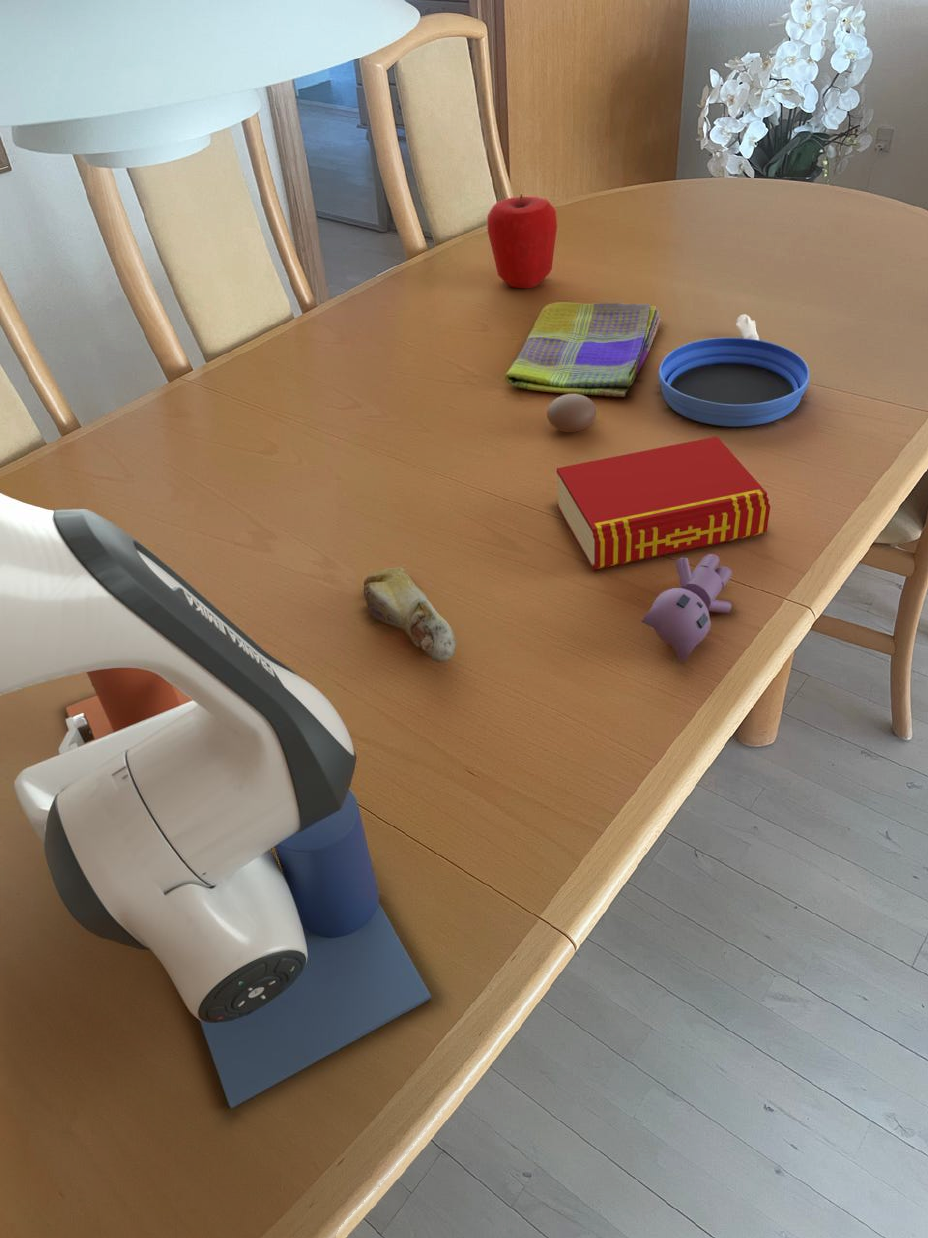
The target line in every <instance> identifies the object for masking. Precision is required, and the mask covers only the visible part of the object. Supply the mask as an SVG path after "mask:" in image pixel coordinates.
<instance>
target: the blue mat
mask: <svg viewBox="0 0 928 1238" xmlns="http://www.w3.org/2000/svg"><path fill="white" fill-rule="evenodd" d="M301 925H302V923H301ZM302 928H303V932H304V936H305V940H306V945H307V953H308V957H307V962H306V965H305V967H304V969H303V971H302V973H301V974H300V975H299V976H298V978H297V979H296V980H295V981H294V983H293V984H292V985H291V986H290V987H289V988H288V989H286V990H285V991H284V992H283V993H281V994H280V995H278V996H277V997H276V998H274V999H273V1000H272V1001H270V1002H269V1003H267V1004H265V1005H264V1006H262V1007H261V1008H259V1009H258V1010H256V1011H254V1012H253V1013H251V1014H249V1015H247V1016H243V1017H240V1018H238V1019H234V1020H232V1021H228V1022H219V1023H206V1022H203V1021H200V1020H199V1023H200V1026H201V1029H202V1032H203V1034H204V1038H205V1040H206V1043H207V1046H208V1049H209V1052H210V1055H211V1058H212V1060H213V1063H214V1067H215V1069H216V1072H217V1075H218V1077H219V1080H220V1084H221V1086H222V1090H223V1093H224V1096H225V1098H226V1101H227V1103H228V1107H229V1108H230V1109H234V1108H235V1107H237V1106H239V1105H241V1104H242V1103H244V1102H246V1101H248V1100H250V1099H253V1097H255V1096H257V1095H259V1094H261V1093H262V1092H264V1091H266V1090H268V1089H270V1088H271V1087H273V1086H275V1085H277V1084H279V1083H281V1082H282V1081H284V1080H286V1079H288V1078H290V1077H291V1076H293V1075H295V1074H297V1073H299V1072H301V1071H302V1070H304V1069H306V1068H308V1067H309V1066H311V1065H313V1064H315V1063H317V1062H319V1061H320V1060H323V1059H324V1058H326V1057H328V1056H330V1055H332V1054H333V1053H335V1052H337V1051H340V1049H343V1048H345V1047H346V1046H348V1045H350V1044H352V1043H353V1042H355V1041H357V1040H359V1039H361V1038H363V1037H364V1036H366V1035H368V1034H370V1033H371V1032H373V1031H375V1030H377V1029H378V1028H380V1027H382V1026H384V1025H386V1024H388V1023H390V1022H392V1021H393V1020H395V1019H397V1018H399V1017H400V1016H402V1015H405V1014H406V1013H408V1012H410V1011H412V1010H413V1009H415V1008H417V1007H418V1006H421V1005H422V1004H424V1003H426V1002H428V1001H429V1000H431V999H432V996H431V994H430V992H429V990H428V988H427V986H426V984H425V983H424V981H423V979H422V978H421V976H420V974H419V972H418V970H417V968H416V966H415V964H414V963H413V961H412V958H411V957H410V956H409V954H408V952H407V950H406V948H405V947H404V945H403V943H402V942H401V940H400V937H399V936H398V934H397V933H396V930H395V929H394V927H393V925H392V923H391V921H390V920H389V918H388V917H387V914H386V913H385V911H384V910H383V908H382V906H381V904H380V901H378V905H377V908H376V911H375V913H374V914H373V916H372V917H371V919H370V920H369V921H368V922H367V923H366V924H365V925H364V926H363V927H362V928H360V929H359V930H357V931H355V932H353V933H351V934H349V935H346V936H342V937H335V938H327V937H321V936H318V935H316V934H313V933H312V932H310V931H308V930H307V929H306V928H305V927H304V926H303V925H302Z"/></svg>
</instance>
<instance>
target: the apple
mask: <svg viewBox="0 0 928 1238" xmlns="http://www.w3.org/2000/svg"><path fill="white" fill-rule="evenodd" d="M486 220H487V225H486V226H487V227H486V230H487V234H488V239H489V243H490V246H491V251H492V254H493V259H494V260H493V261H494V263H495V268H496V272H497V276H498V277H499V278H500V279H501V280H502V281H503V282H504V283H505V284H506V285H508V286H509V287H511V288H515V289H531V288H535V287H537V286H538V285H540V284H541V283H542V282H543V281H544V280H545V279H546V278H547V277H548V275H550V273H551V271H552V269H553V261H554V254H555V253H554V252H555V245H556V237H557V231H558V221H557V211H556V209H555V207H554V206H553V204H551V203H550V201H549V200H547V199H546V198H543V197H539V196H538V197H537V196H523V194H522V193H521V194H520V196H518V197H509V198H503V199H501V200H499V201H496V202H495V203H494V205H492V207H491V209H490V211H489V212H488V214H487V219H486Z"/></svg>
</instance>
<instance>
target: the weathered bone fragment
mask: <svg viewBox="0 0 928 1238" xmlns="http://www.w3.org/2000/svg"><path fill="white" fill-rule="evenodd" d="M363 586H364V587H363V596H364V600H365V602H366V605H367V608H368V612H369V614H370V615H371V616H372V618H374V619H375V620H377V621H380V622H381V623H384V624H385V625H388V626H389V625H390V626H393V627H396V628H397V629H401V630H404V631H405V633H406V635H407V636H409V638H410V640H411V642H412V643H413V644H414V645H415V646H416V647H417V648H418V649H422V650H423V651H424V652H425V653H426V655H427V657H428V658H430V659H431V660H432V661H434V662H436V663H444V662H448V661H449V660H450V659H451V658H452V657H453V655H454V654H455V652H456V649H457V641H456V638H455V635H454V631H453V630H452V627H451V626H450V624H449V623H448V621H447V620H446V619H445V618H444V617H443V616H441V614H439V613H438V611H437V610H436V609H435V607H434V606H433V604H432V603H431V602H430V601H429V598H428V597H427V595H426V594H425V593H424V592H423V591H422V590H421V589H420V588H419V587H418V586H417V585H416V584H415V582H413V580H412V579H411V577H410V576H409V574H408V573H407V571H406V570H405V569H404V568H403V567H400V566H399V567H397V566H396V567H390V568H386V569H385V568H384V569H383V570H379V571H377V572H373V573H371V574H370V575H368V576H367V577H365V578H364V581H363Z"/></svg>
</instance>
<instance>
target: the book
mask: <svg viewBox="0 0 928 1238" xmlns="http://www.w3.org/2000/svg"><path fill="white" fill-rule="evenodd" d="M556 473H557V492H558V493H557V495H558V497H557V498H558V503H556V505H557V506H556V507H557V509H558V511H559V513H560V514H561V517H562V518H563V520H564V522H565V524H566V525H567V527H568V529H569V530H570V532H571V534H572V536H573V537H574V539H575V541H576V543H577V545H578V546H579V548H580V550H581V552H582V554H583V555H584V557H585V559H586V561H587V562H588V565H589V566H590V568H591V570H592V571H594V570H599V569H605V568H610V567H612V566H613V567H614V566H618V565H623V564H629V563H632V562H638V561H642V560H647V559H650V558H655V557H660V556H665V555H669V554H674V553H679V552H683V551H689V550H693V549H699V548H702V547H703V548H704V547H708V546H712V545H717V544H721V543H726V542H732V541H735V540H736V541H737V540H740V539H744V538H749V537H755V536H759V535H762V534H764V533H767V532H768V525H769V518H770V512H771V505H770V504H769V501H770V499H769V498H768V492H767V491H766V490H765V489H764V488H763V486H762V485H760V482H758V481H757V480H756V479H755V478H754V476H753V475H752V474H751V473H750V472H749V471H748V469H747V468H746V467H745V466H744V465H743V463H741V461H740V460H739V459H738V458H737V457H736V456H735V455H734V454H733V452H732V451H731V450H730V449H729V448H728V447H727V445H726V444H724V442H723V441H722V440H721V439H720V438H719V437H718V436H712V437H706V438H702V439H697V440H692V441H687V442H681V443H676V444H672V445H667V446H662V447H657V448H652V449H646V450H642V451H637V452H631V453H627V454H622V455H621V454H620V455H615V456H611V457H607V458H601V459H596V460H591V461H586V462H581V463H576V464H571V465H566V466H560V467H557V468H556Z"/></svg>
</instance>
